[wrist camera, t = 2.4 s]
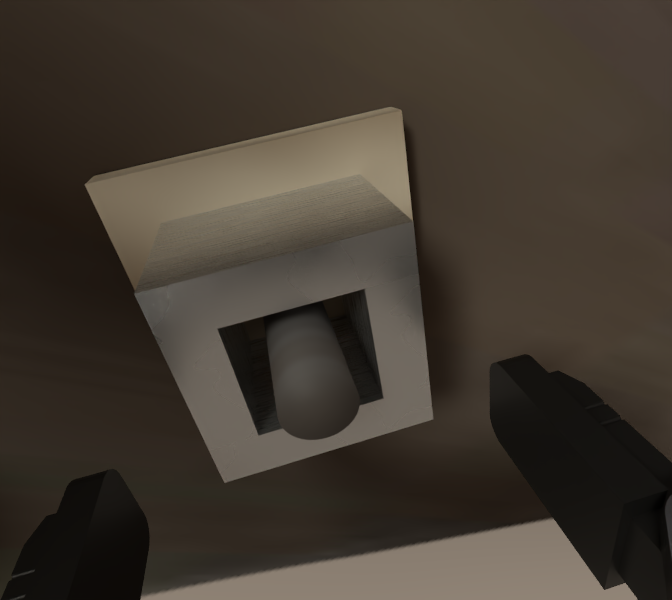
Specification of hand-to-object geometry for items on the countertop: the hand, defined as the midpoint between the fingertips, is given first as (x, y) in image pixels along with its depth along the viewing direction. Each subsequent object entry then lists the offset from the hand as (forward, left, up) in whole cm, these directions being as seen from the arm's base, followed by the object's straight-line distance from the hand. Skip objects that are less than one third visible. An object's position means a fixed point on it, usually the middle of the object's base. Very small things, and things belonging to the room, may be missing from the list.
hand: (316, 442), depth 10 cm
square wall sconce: (-1, 0, -6) cm, 6 cm away
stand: (-1, 0, -7) cm, 7 cm away
